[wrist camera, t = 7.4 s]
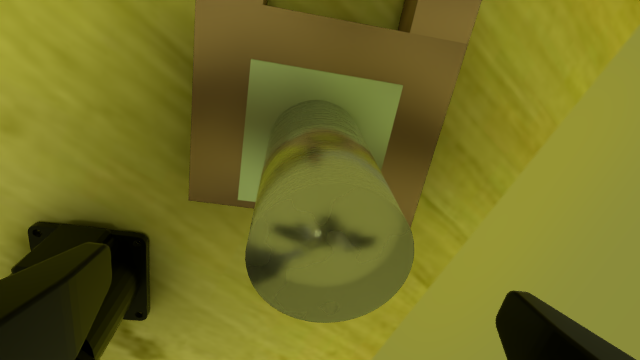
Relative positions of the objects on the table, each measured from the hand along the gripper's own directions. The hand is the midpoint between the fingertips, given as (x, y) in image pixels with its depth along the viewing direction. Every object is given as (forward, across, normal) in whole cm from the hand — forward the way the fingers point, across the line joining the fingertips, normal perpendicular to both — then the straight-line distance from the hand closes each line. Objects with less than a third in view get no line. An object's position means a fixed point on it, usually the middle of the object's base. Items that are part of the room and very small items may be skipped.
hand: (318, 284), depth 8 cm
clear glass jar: (+10, 0, 0) cm, 11 cm away
